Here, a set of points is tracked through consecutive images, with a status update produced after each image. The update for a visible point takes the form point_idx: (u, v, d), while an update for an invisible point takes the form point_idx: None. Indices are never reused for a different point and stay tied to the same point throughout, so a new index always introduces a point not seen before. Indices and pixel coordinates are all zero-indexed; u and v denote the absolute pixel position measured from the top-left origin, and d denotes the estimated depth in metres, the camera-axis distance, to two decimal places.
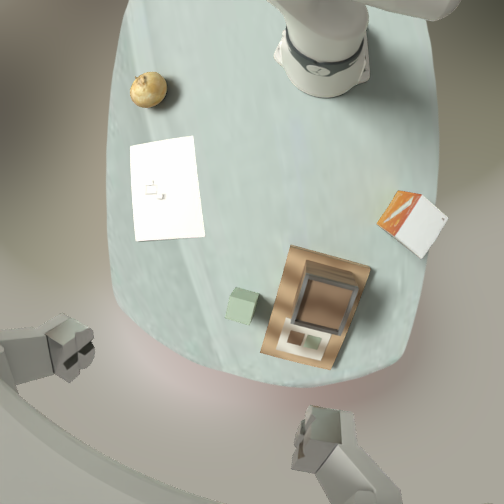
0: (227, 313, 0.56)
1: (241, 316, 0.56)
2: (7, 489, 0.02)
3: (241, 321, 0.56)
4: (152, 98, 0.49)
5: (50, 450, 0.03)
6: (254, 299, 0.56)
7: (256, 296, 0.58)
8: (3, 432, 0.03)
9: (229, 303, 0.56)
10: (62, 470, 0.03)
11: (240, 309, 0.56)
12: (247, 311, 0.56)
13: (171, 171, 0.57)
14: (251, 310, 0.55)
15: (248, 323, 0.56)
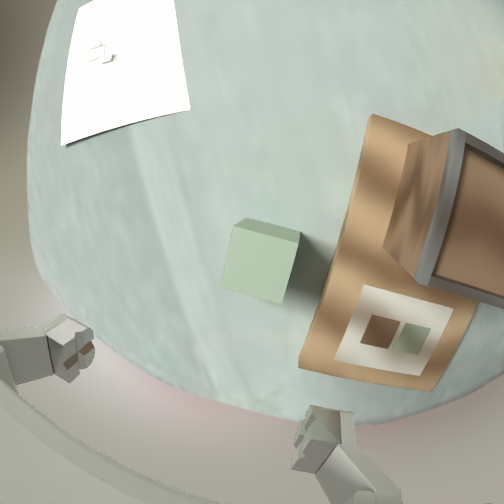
0: (226, 274, 0.23)
1: (262, 281, 0.22)
2: (7, 489, 0.02)
3: (261, 294, 0.23)
4: None
5: (50, 450, 0.03)
6: (294, 237, 0.23)
7: (295, 234, 0.24)
8: (3, 432, 0.03)
9: (231, 246, 0.22)
10: (62, 470, 0.03)
11: (260, 261, 0.22)
12: (276, 267, 0.22)
13: (132, 18, 0.23)
14: (288, 263, 0.22)
15: (279, 299, 0.22)
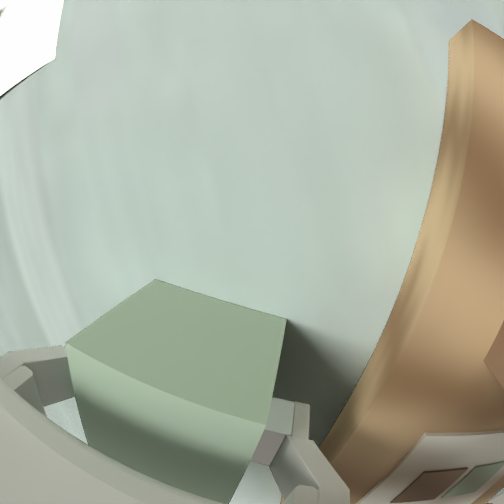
0: (91, 436, 0.07)
1: (170, 471, 0.06)
2: (7, 489, 0.02)
3: None
4: None
5: (50, 450, 0.03)
6: (259, 376, 0.07)
7: (269, 347, 0.08)
8: (3, 432, 0.03)
9: (79, 391, 0.06)
10: (62, 470, 0.03)
11: (154, 440, 0.06)
12: (202, 460, 0.06)
13: None
14: (235, 460, 0.06)
15: None
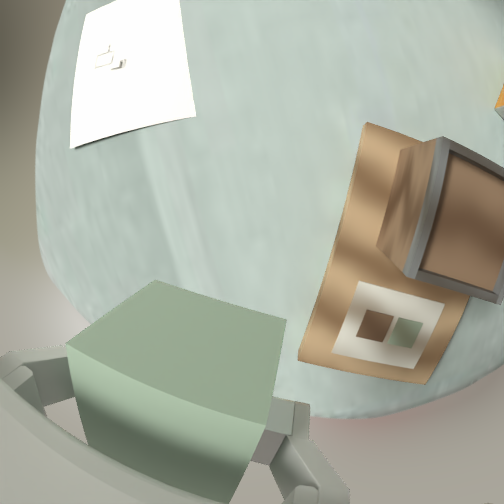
0: (91, 437, 0.07)
1: (170, 471, 0.06)
2: (7, 489, 0.02)
3: None
4: None
5: (50, 450, 0.03)
6: (259, 376, 0.07)
7: (269, 348, 0.08)
8: (3, 432, 0.03)
9: (80, 391, 0.06)
10: (62, 470, 0.03)
11: (154, 440, 0.06)
12: (202, 460, 0.06)
13: (139, 26, 0.25)
14: (235, 461, 0.06)
15: None
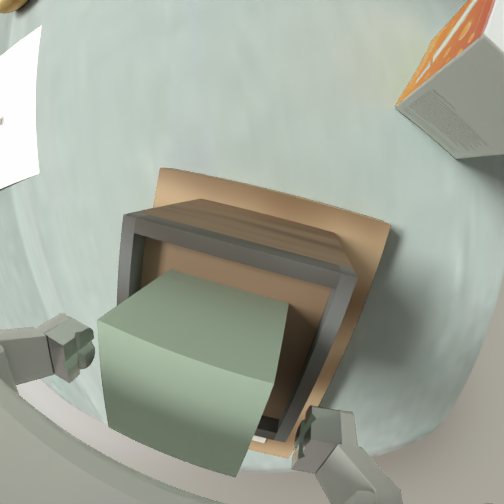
0: (112, 411, 0.08)
1: (186, 440, 0.08)
2: (7, 489, 0.02)
3: (190, 458, 0.08)
4: None
5: (50, 450, 0.03)
6: (266, 346, 0.08)
7: (274, 325, 0.09)
8: (3, 432, 0.03)
9: (106, 365, 0.08)
10: (62, 470, 0.03)
11: (174, 407, 0.07)
12: (216, 424, 0.07)
13: (14, 80, 0.22)
14: (246, 422, 0.07)
15: (230, 471, 0.08)
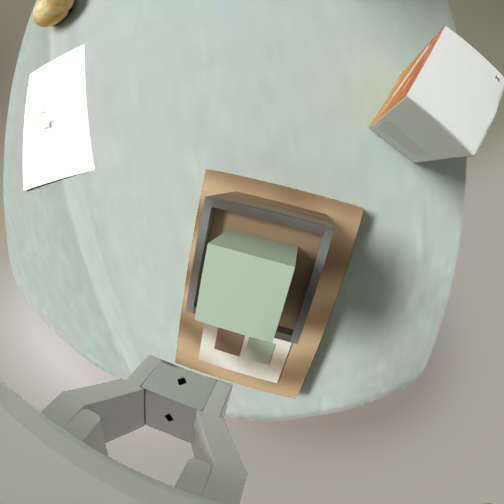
0: (201, 304, 0.17)
1: (246, 314, 0.17)
2: (7, 489, 0.02)
3: (246, 330, 0.17)
4: (51, 11, 0.24)
5: (50, 450, 0.03)
6: (289, 257, 0.17)
7: (291, 252, 0.19)
8: (3, 432, 0.03)
9: (207, 270, 0.17)
10: (62, 470, 0.03)
11: (243, 289, 0.17)
12: (266, 297, 0.17)
13: (62, 90, 0.31)
14: (281, 293, 0.16)
15: (269, 336, 0.17)
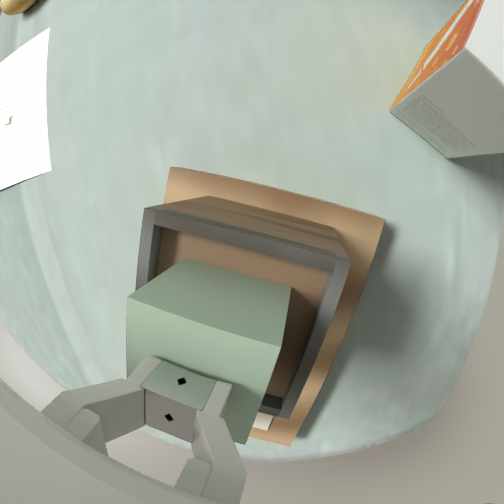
0: None
1: None
2: (7, 489, 0.02)
3: None
4: None
5: (50, 450, 0.03)
6: (273, 319, 0.10)
7: (279, 303, 0.11)
8: (3, 432, 0.03)
9: (132, 339, 0.09)
10: (62, 470, 0.03)
11: None
12: None
13: (23, 81, 0.23)
14: (256, 385, 0.09)
15: (240, 437, 0.09)
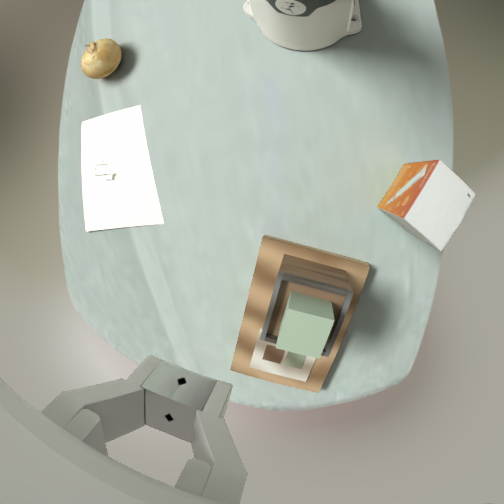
0: (281, 339, 0.30)
1: (306, 344, 0.30)
2: (7, 489, 0.02)
3: (305, 352, 0.30)
4: (102, 66, 0.37)
5: (50, 450, 0.03)
6: (330, 313, 0.30)
7: (329, 307, 0.32)
8: (3, 432, 0.03)
9: (286, 322, 0.30)
10: (62, 470, 0.03)
11: (306, 331, 0.30)
12: (318, 335, 0.29)
13: (122, 147, 0.44)
14: (326, 333, 0.29)
15: (318, 355, 0.30)
